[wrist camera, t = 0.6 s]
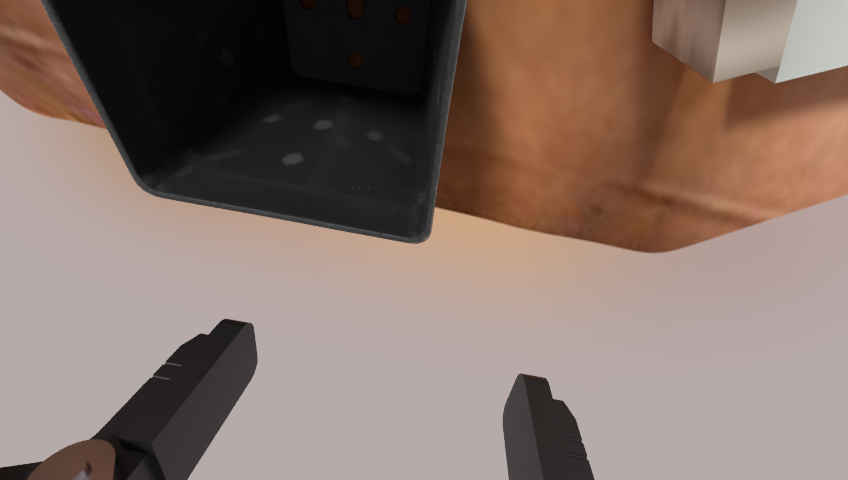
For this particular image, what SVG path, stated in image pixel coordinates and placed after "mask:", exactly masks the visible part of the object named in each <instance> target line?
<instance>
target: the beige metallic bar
mask: <svg viewBox="0 0 848 480" xmlns="http://www.w3.org/2000/svg"><path fill="white" fill-rule="evenodd" d="M797 1H798V0H654V8H653V27H652V42H654V43H655V44H656V45H658V46H659V47H661V48H662V49H664V50H665V51H667V52H668V53H670V54H671V55H673V56H674V57H675V58H677V59H678V60H680V61H681V62H683V63H684V64H686V65H687V66H689V67H690V68H691V69H693V70H694V71H696V72H697V73H699V74H700V75H702V76H703V77H705V78H706V79H708V80H709V81H710V82H712V83H715V82H719V81H723V80H727V79H731V78H735V77H738V76H742V75H746V74H750V73H754V72H758V71H761V70H765V69H769V68H773V67H777V66H780V64H781V60H782V56H783V53H784V49H785V45H786V42H787V38H788V34H789V30H790V27H791V23H792V19H793V15H794V12H795V8H796V4H797Z"/></svg>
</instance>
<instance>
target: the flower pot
mask: <svg viewBox="0 0 848 480" xmlns="http://www.w3.org/2000/svg"><path fill="white" fill-rule="evenodd" d="M40 1H41V3H42V5H43V7H44V9H45V10H46V12H47V14H48V16H49V18H50V20H51V22H52V24H53V26H54V28H55V30H56V32H57V33H58V35H59V37H60V39H61V41H62V43H63V45H64V47H65V49H66V51H67V53H68V55H69V56H70V58H71V60H72V62H73V64H74V66H75V68H76V70H77V72H78V74H79V76H80V78H81V79H82V81H83V83H84V85H85V87H86V89H87V91H88V93H89V95H90V97H91V99H92V101H93V102H94V104H95V106H96V108H97V110H98V112H99V114H100V116H101V118H102V120H103V122H104V124H105V125H106V127H107V129H108V131H109V133H110V135H111V137H112V139H113V141H114V143H115V145H116V147H117V148H118V150H119V152H120V154H121V156H122V158H123V160H124V162H125V164H126V166H127V167H128V170H129V172H130V173H131V175H132V177H133V179H134V180H135V182H136V183H137V185H138V186H140V187H141V188H142V189H143V190H144V191H146V192H147V193H149V194H151V195H154V196H157V197H161V198H166V199H171V200H176V201H182V202H187V203H193V204H199V205H204V206H210V207H215V208H221V209H227V210H232V211H238V212H243V213H249V214H255V215H261V216H266V217H271V218H276V219H282V220H288V221H293V222H298V223H304V224H309V225H314V226H319V227H325V228H330V229H335V230H340V231H346V232H351V233H356V234H362V235H367V236H373V237H378V238H384V239H389V240H394V241H400V242H405V243H414V244H415V243H416V244H418V243H421V242H424V241H426V240H427V239H428V238H429V236H430V233H431V229H432V222H433V215H434V208H435V201H436V194H437V188H438V181H439V174H440V167H441V161H442V154H443V147H444V141H445V134H446V128H447V121H448V114H449V108H450V102H451V95H452V89H453V83H454V77H455V71H456V65H457V59H458V52H459V46H460V40H461V34H462V28H463V22H464V16H465V10H466V5H467V0H361V1H362V2H363V5H364V12H363V14H362V16H361V18H359V19H354V18H352V17H351V16H350V15H349V14H348V13H347V10H346V2H347V0H315V7H314V8H313V9H311V10H308V9H306V8H304V7H303V6H302V5H301V3H300V0H40ZM400 6H406V7H407V8H408V9H409V11H410V14H411V18H410V20H409V22H408V23H407V24H406V25H400V24H398V23H397V22H396V20H395V16H394V15H395V11H396V9H397V8H398V7H400ZM353 52H358V53H359V54H360V56H361V57H362V59H363V61H362V66H361V67H360V68H358V69H355V68H352V67H351V66H350V64H349V62H348V57H349V55H350V54H351V53H353Z"/></svg>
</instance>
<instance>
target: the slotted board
mask: <svg viewBox="0 0 848 480" xmlns="http://www.w3.org/2000/svg"><path fill="white" fill-rule="evenodd" d="M844 66H848V0H798V1H797V4H796V8H795V12H794V15H793V19H792V23H791V27H790V30H789V34H788V38H787V42H786V45H785V49H784V53H783V56H782V60H781V64H780V66H777V67H773V68H769V69H765V70H761V71H758V72H755V73H757V74H758V75H760V76H762V77H764V78H766V79H768V80H770V81H772V82H773V83H779V82H783V81H787V80H791V79H795V78H799V77H803V76H807V75H811V74H815V73H819V72H823V71H827V70H832V69H836V68H840V67H844Z"/></svg>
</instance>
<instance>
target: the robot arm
mask: <svg viewBox="0 0 848 480" xmlns="http://www.w3.org/2000/svg"><path fill="white" fill-rule="evenodd" d="M256 366H257V350H256V342H255V334H254V327H253V325H252V324H251V323H247V322H241V321H235V320H230V319H224V320H222V321H221V322H220V323H219V324H218V325H217V326H216V327H215V328H214V329H213V330H212V331H211V333H210V334H209V335H206V334H199V335H197V336H196V337H194V338H193V339H191V340H189V341H188V342H186V343H185V344H183V345H181V346H180V347H179V348H178V349H177V350H176V351H175V352H174V353H173V354H172V356H171V357H170V358H169V359H168V360H167V361H166V364H165V365H162V366H161V367H160V368H159V369H158V370H157V371H156V372H155V373H154V375H153V377H152V378H150V379H149V380H148V381H147V382H146V383H145V384H144V385H143V386H142V387H141V388H140V389H139V390H138V391H137V392H136V393H135V394H134V395H133V396H132V398H131V399H130V400H129V401H128V402H127V403H126V404H125V405H124V406H123V407H122V408H121V409H120V410H119V411H118V412H117V413H116V414H115V415H114V416H113V417H112V418H111V420H110V421H109V422H108V423H107V424H106V425H105V426H104V427H103V428H102V429H101V430H100V431H99V432H98V433H97V434H96V435H95V436H93V437H92V438H91V439H90V440H86V441H81V442H78V443H75V444H72V445H70V446H67V447H65V448H64V449H61V450H60V451H58V452H56V453H55V454H53V455H51V456H50V457H49V458H47V459H46V460H45V461H42V462H38V463H30V464H23V465H17V466H10V467H2V468H0V480H187V479H188V478H189V476H190V474H191V473H192V471H193V470H194V468H195V466H196V465H197V463H198V462H199V460H200V459H201V457H202V456H203V454H204V452H205V451H206V449H207V448H208V446H209V445H210V443H211V442H212V440H213V438H214V437H215V435H216V434H217V432H218V431H219V429H220V427H221V426H222V424H223V423H224V421H225V420H226V418H227V417H228V415H229V413H230V412H231V410H232V409H233V407H234V406H235V404H236V402H237V401H238V399H239V398H240V396H241V395H242V393H243V392H244V389H245V388H246V387H247V385H248V384H249V382H250V381H251V379H252V377H253V375H254V372H255V370H256ZM503 431H504V440H505V449H506V457H507V466H508V475H509V480H594V477H593V473H592V470H591V467H590V464H589V461H588V460H587V454H586V451H585V448H584V445H583V443H582V438H581V435H580V432H579V429H578V425H577V422H576V419H575V418H574V416H573V415H572V413H571V412H570V410H569V409H568V407H567V406H566V404H565V403H564V402H563V401H560V400H555V399H553V398H552V394H551V390H550V387H549V383H548V381H547V380H546V378H542V377H537V376H531V375H526V374H519V375H518V376H517V378H516V380H515V383H514V385H513V388H512V390H511V392H510V395H509V397H508V399H507V402H506V404H505V407H504V413H503Z"/></svg>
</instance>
